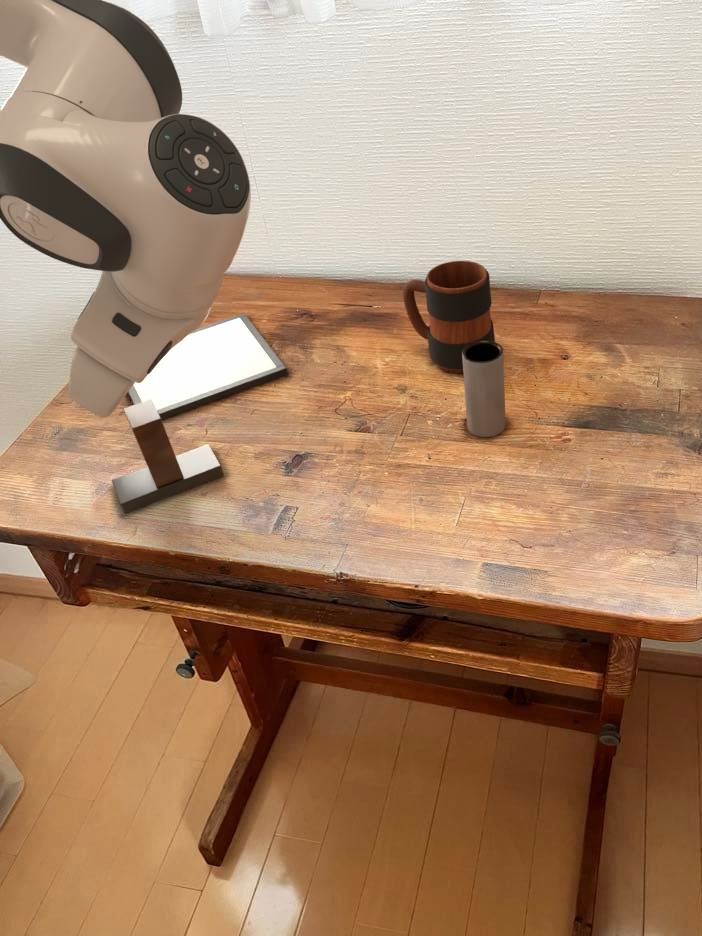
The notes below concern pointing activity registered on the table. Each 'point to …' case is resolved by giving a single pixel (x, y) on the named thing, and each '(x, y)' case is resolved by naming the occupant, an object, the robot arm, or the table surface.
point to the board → (209, 367)
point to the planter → (484, 388)
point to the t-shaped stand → (161, 462)
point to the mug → (452, 310)
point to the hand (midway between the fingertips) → (139, 352)
